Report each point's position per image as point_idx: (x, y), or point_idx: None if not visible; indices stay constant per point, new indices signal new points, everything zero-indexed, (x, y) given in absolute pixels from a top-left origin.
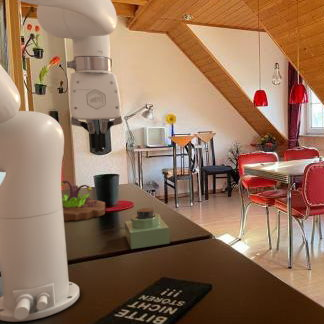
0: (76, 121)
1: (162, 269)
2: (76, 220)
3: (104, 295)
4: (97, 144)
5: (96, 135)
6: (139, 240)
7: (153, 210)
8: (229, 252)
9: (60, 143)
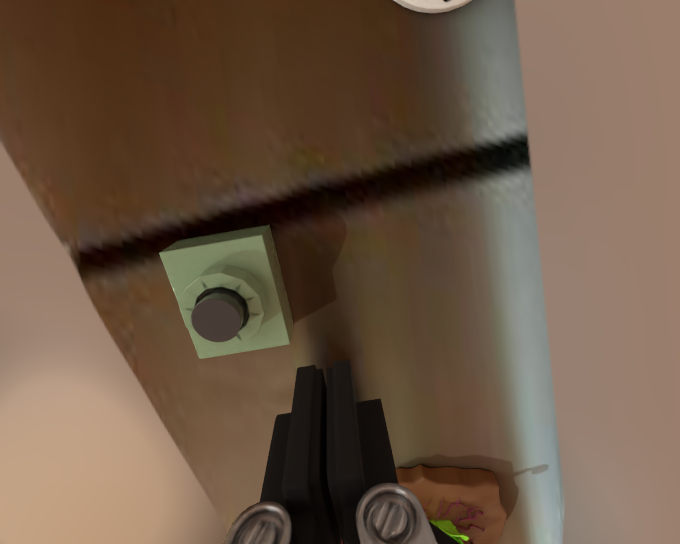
0: None
1: (173, 45)
2: (418, 465)
3: None
4: (333, 397)
5: (338, 465)
6: (245, 232)
7: (191, 315)
8: (5, 118)
9: None
